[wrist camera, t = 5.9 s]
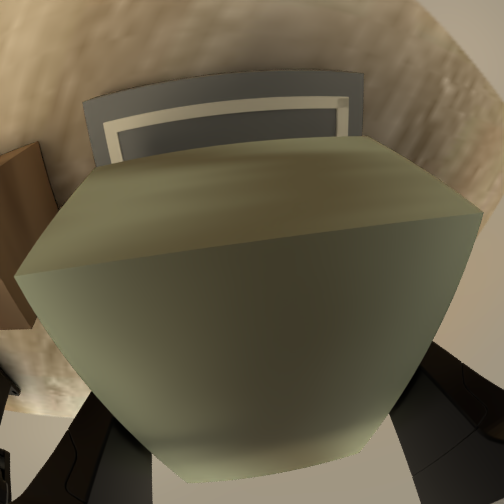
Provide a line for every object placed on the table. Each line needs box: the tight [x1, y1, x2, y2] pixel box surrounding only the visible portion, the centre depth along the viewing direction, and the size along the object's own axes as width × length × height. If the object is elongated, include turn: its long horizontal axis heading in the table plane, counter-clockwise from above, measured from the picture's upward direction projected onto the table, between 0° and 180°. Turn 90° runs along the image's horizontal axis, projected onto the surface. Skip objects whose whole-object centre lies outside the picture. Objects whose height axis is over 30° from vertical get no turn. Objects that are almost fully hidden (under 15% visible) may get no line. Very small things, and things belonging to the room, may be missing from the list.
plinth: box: [83, 70, 364, 167], centre depth 12 cm, size 9×13×2 cm
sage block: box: [14, 136, 484, 483], centre depth 8 cm, size 6×10×4 cm, turn 4°
